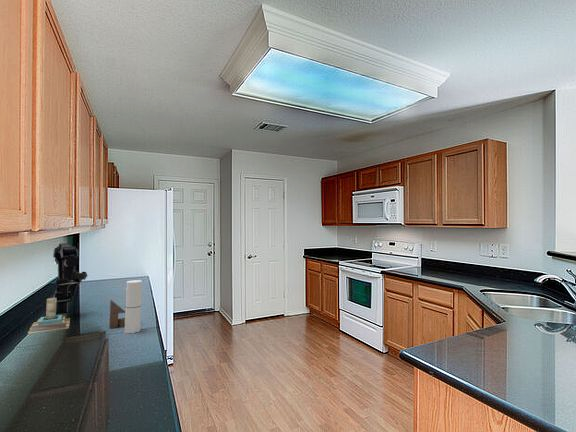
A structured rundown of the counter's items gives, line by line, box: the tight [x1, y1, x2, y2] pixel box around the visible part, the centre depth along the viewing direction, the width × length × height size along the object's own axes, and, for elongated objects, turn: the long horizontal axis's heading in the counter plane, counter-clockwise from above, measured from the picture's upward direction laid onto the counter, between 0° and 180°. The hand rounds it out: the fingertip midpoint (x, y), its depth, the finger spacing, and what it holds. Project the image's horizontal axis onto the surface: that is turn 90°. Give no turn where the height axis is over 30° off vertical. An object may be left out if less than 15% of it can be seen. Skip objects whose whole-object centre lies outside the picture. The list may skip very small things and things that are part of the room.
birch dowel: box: [45, 297, 57, 320], centre depth 159 cm, size 4×4×13 cm
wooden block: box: [108, 299, 126, 329], centre depth 164 cm, size 4×11×18 cm, turn 126°
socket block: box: [38, 314, 63, 325], centre depth 159 cm, size 9×9×4 cm
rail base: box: [27, 315, 71, 335], centre depth 160 cm, size 20×16×3 cm
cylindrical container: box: [124, 279, 143, 334], centre depth 156 cm, size 7×7×25 cm
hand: (69, 296), depth 173 cm, fingers open, 9 cm apart
